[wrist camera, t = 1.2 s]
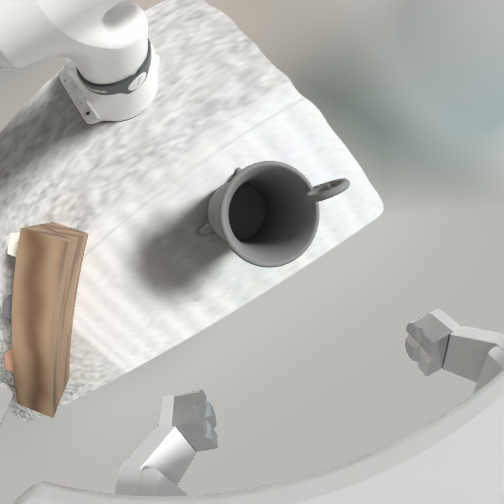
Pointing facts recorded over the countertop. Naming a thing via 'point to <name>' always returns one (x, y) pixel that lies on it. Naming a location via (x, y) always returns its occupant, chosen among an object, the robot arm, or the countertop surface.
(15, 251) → the cream key
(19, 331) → the console
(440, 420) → the robot arm
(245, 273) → the countertop surface
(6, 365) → the terracotta key
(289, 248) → the grey footed pot
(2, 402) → the drinking glass
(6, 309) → the charcoal key
